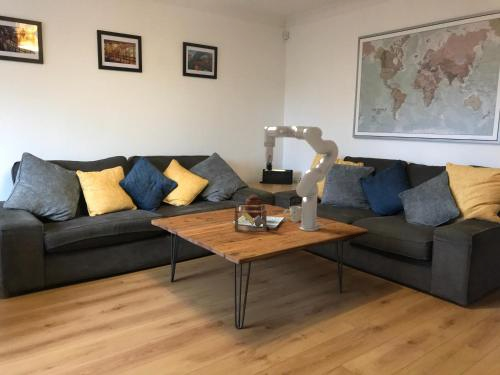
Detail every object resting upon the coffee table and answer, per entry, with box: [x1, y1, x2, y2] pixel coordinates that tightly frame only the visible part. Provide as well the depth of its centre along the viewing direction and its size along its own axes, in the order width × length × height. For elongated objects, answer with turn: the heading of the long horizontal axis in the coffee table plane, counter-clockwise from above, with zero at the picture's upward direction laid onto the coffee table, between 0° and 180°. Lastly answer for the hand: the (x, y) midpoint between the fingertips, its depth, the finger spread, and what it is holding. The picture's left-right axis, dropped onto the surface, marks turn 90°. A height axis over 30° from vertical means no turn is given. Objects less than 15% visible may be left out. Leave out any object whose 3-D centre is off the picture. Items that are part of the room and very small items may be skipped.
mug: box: [283, 205, 302, 223], centre depth 292 cm, size 8×13×10 cm, turn 89°
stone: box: [253, 215, 263, 227], centre depth 274 cm, size 5×5×5 cm
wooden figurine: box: [244, 194, 262, 218], centre depth 294 cm, size 12×6×18 cm, turn 81°
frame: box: [234, 204, 268, 233], centre depth 273 cm, size 20×20×14 cm
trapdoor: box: [238, 206, 254, 225], centre depth 273 cm, size 12×14×2 cm
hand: (269, 170), depth 284 cm, fingers open, 9 cm apart
